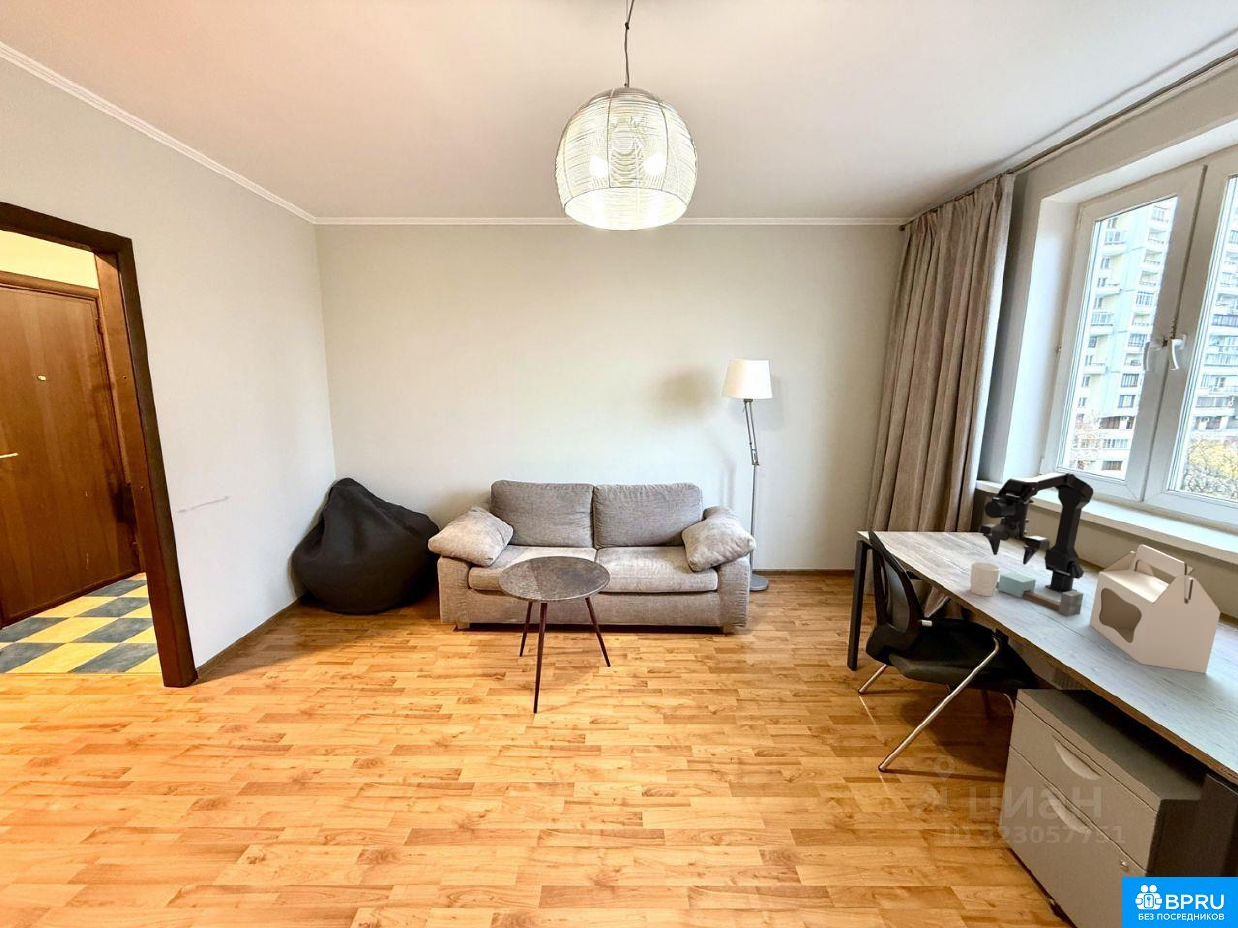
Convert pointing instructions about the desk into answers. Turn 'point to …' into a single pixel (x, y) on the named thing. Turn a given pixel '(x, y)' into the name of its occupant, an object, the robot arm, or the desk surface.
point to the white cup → (984, 578)
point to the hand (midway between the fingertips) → (1009, 559)
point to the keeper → (1016, 584)
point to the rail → (1066, 606)
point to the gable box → (1155, 611)
